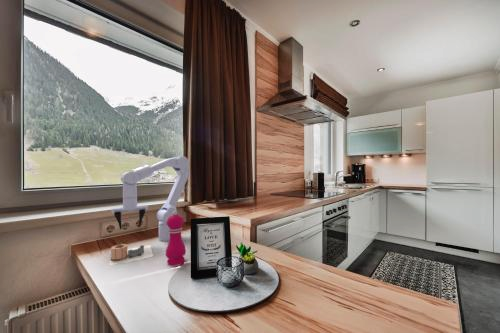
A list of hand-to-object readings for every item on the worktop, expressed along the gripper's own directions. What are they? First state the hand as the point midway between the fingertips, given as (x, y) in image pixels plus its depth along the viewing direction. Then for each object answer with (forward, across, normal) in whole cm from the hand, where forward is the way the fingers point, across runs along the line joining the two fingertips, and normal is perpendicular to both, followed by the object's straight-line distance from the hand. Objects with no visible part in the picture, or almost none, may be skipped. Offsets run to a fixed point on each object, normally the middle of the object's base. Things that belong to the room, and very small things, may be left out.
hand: (130, 227), depth 99 cm
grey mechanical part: (+9, -2, +12) cm, 15 cm away
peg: (+9, +4, +12) cm, 16 cm away
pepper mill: (+10, -15, +28) cm, 33 cm away
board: (+10, 0, +10) cm, 14 cm away
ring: (+8, +4, +12) cm, 15 cm away
